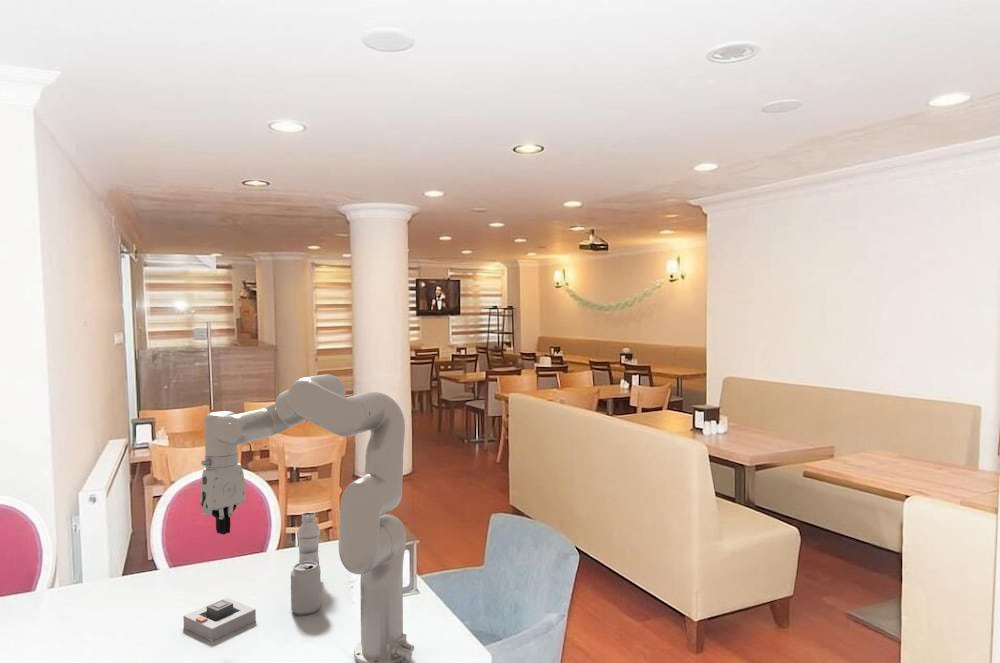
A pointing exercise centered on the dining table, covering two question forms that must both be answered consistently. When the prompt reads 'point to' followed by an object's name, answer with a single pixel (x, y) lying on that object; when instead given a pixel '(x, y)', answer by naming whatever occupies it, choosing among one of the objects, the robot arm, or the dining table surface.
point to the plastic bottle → (308, 539)
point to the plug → (219, 610)
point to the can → (305, 588)
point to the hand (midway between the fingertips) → (223, 532)
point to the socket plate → (219, 621)
